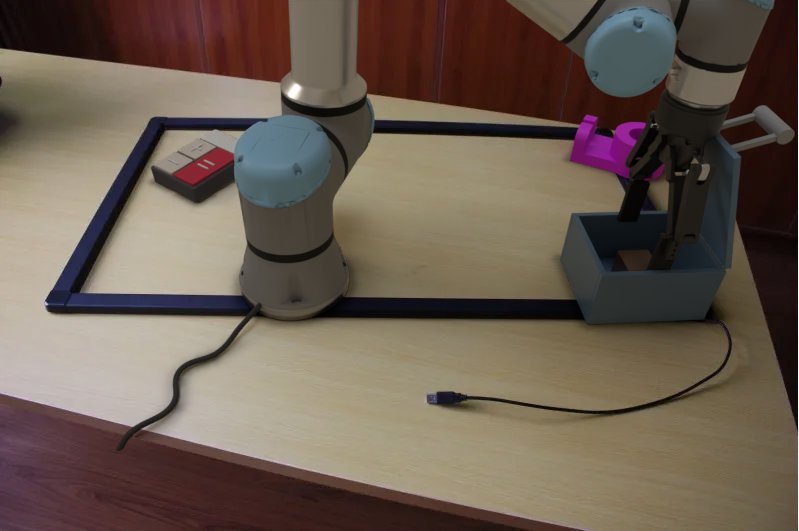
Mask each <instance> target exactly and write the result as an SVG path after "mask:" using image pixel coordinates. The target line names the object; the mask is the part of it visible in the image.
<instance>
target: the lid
mask: <svg viewBox="0 0 799 531" xmlns="http://www.w3.org/2000/svg"><path fill="white" fill-rule="evenodd" d="M753 121H754V122H756V123H757V125H759V127H761V128H762V129H763V130H764V132H766V133H767V135H763V136H759V137H756V138H752V139H749V140H748V139H747V140H745V141H742V142H738V143H734V144H730V143H729V142H728V141H727V140H726V139H725V138H724V137H723V135H722V134H721V133H720V132H719V133H718V135H716V136H715V137H713V138H711V139H710V140H708V141H707V142H706V143H705V147H704V155H703V159H704V160H705V161H706V163H715V164H716V172H715V174H714V176H713V179H712V181H711V183H710V187H709V192H708V196H707V201H706V206H705V211H704V216H703V220H702V225H701V230H700V235H701V236H702V238H703V239H704V240H705V242H706V243H707V245H708V246H709V247H710V249H711V250H712V252H713V253H714V255H715V256H716V257H717V259H718V260H719V262H720V263H721V264H722V266H723V267H724V269H725V270H729V269H732V265H733V264H732V263H733V253H734V240H735V232H736V231H735V230H736V219H737V210H738V197H739V187H740V186H739V185H740V176H741V175H740V174H741V164H742V156H741V155H740V154H739V152H741V151H745V150H749V149H752V148H756V147H761V146H764V145H768V144H771V143H774V142H776V143H777V144H779V145H786V144H788V143H790V142H791V141H792V140H793V139H794V137H795V130H794V129H792V128H791V126H790V125H788V124H787V123H786V122H784V120H783V119H781V117H779V116H778V115H777V114H776V113H775V112H774V111H773V110H772V109H771V108H769V106H767V105H765V104H764V105H763V104H762V105H759V106H757V107H756V108H754V110H753V111H752V113H748V114H745V115H740V116H737V117H734V118H731V119H727V120H725V121H724V123H723V126H722V128H721V130H725V129H728V128H732V127H736V126H740V125H743V124H747V123H750V122H753ZM681 175H687V174H686V172H681Z"/></svg>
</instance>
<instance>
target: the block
mask: <svg viewBox="0 0 799 531" xmlns="http://www.w3.org/2000/svg"><path fill="white" fill-rule="evenodd" d="M651 257H652V255H651V254H650V252H649V250H648V249H645V250H618V251H617V254H616V257H615V260H614V263H613V266H612V270H611V272H622V271H646V270H647V267H648V265H649V262H650V260H651Z"/></svg>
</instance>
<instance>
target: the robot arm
mask: <svg viewBox="0 0 799 531" xmlns="http://www.w3.org/2000/svg"><path fill="white" fill-rule="evenodd" d="M359 1H360V0H288V23H289V25H288V26H289V47H290V69H291V70H289V72H288V73H287V74H286V75H284V77H282V79H281V80H280V84H279V85H280V86H279V87H280V105H281V106H280V109H281V115H276V116H272V117H268V118H267V121H262V120H260V121H257V122H255V123H254V124H252V125H251V126H249V127H248V128H247V129H246V130H245V131H243V133H241V135H240V137H239V138H238V139H239V140H238V141H237V143H236V146H235V151H234V163H235V165H234V176H235V179H234V182H235V185H236V187H237V188H236V189H237V192H238V199H239V203H240V211H241V216H242V222H243V227H244V233H245V240H246V247H245V251H244V254H243V260H242V264H241V267H240V271H239V276H238V280H239V286H240V292H241V297H242V299H243V300H244V301H245V303H246V305H247V306H248V307H250V309H251V310H250V311H249V313H247V314H246V315H245V317H244V318H243V319H242V320H241V321H240V322H239V324H238V325H237V326H236V327H235V328H234V330H233V331H232V332H231V333H230V335H229V337H228V338H227V339H226V340H225V342H224V343H223V344H222V345H220V347H218V348H217V349H215V350H214V351H213V352H210V353H208V354H205V355H201V356H198V357H194V358H192V359H189V360H188V361H187V360H186V362H184V363H182V364H181V365H179V367H178V368H177V369H176V370H175V372H174V374H173V377H172V399H171V401H170V402H169V403H168V405H167V406H166V407H165V408H164V409H162V410H161V411H160V412H158V413H157V414H155V415H153V416H151V417H149V418H147V419H144V420H142V421H141V422H138V423H137V424H135V425H133V426H132V427H131V428H130V429H128V430H127V431H126V433H124V435H123V436H122V437H121V439H120V440H119V442H118V444H117V446H116V448H115V449H116V452H120V451H121V452H122V451H123V450H124V448H125V446H126V445H127V443H128V441H130V439H131V438H132V437H133V436H134V435H135V434H136V433H137V432H139V431H141V430H143V429H145V428H147V427H148V426H151V425H152V424H155V423H157V422H159V421H161V420H162V419H164V418H165V417H167V416H168V415H169V414H171V413H172V412H173V410H174V409H175V408H176V406H177V405H178V402H179V400H180V378H181V375H182V374H183V373H184V372H185V371H186V370H187V369H189V368H190V367H192V366H194V365H195V366H196V365H197V364H201V363H205V362H208V361H211V360H213V359H215V358H217V357H219V356H220V355H222V354H223V353H224V352H225V351H227V349H228V348H229V347H230V346H231V344H233V342H234V341H235V339H236V338H237V337H238V335H239V334H240V333H241V331H242V330H243V329H244V328H245V327H246V325H247V324H248V323H249V322H250V321H251V320H252V319H253V318H254V317H255V316H256V314H257V313H258V314H260V315H262V316H264V317H267V318H270V319H275V320H281V321H301V320H306V319H311V318H313V317H317V316H319V315H322V314H325V313H327V312H328V311H330V310H332V309H333V308H334V307H336V305H338V304H339V303H340V302H341V301H342V299H343V298H344V297H345V296H346V294H347V292H348V289H349V285H350V270H349V265H348V262H347V259H346V258H345V255H343V252H342V246H340V245H339V243H338V241H337V239H336V237H335V230H334V226H335V224H334V200H335V197H336V195H337V194H338V192H339V191H340V188H342V186H343V184H344V182H345V180H346V179H347V177H348V176H349V174H350V173H351V171H352V170H353V168H354V167H355V165H356V164H357V162H358V160H359V159H360V158H361V157H362V155H363V154H364V153H365V152H366V150H367V149H368V147H369V144H370V143H371V141H372V140H371V139H372V136H373V133H374V130H375V111H374V108H373V104H372V101H371V100H370V98H369V97H368V85H367V82H366V80H365V79H364V78H363V77H362V76H361V75H360V74H359V73H357V68H358V66H357V65H358V38H359V35H358V34H359ZM505 2H507V3H508V4H509V5H511V6H512V7H514V8H515V9H516V10H518V12H520V13H521V14H523V15H524V16H525V17H527V19H530V20H531V21H532V22H533V23H535V24H536V25H538V26H539V27H540V28H542V29H543V30H545V31H546V32H547V33H548V34H550V35H551V36H552V37H554V38H555V39H556V40H558V42H561V43H562V44H563V45H565V47H567V48H568V49H569V50H571V51H572V52H573V53H575V54H576V55H577V56H578V57H580V58H581V59H582V60H583V64H584V68H585V70H586V72H587V76H588V77H589V79H590V81H591V83H593V85H594V86H595V87H596V88H597V89H598V90H600V91H601V92H603V93H604V94H607V95H609V96H612V97H617V98H618V97H619V98H633V97H637V96H641V95H643V94H646V93H648V92H649V91H651V90H653V89H654V88H655V87H657V86H658V85H659V84H661V83H662V82H663V80H664V79H665V78H666V80H665V85H664V86H665V88H664V89H663V90H662V91H661V93H660V97H659V99H658V103H657V106H656V108H655V110H650V111H649V112H648V116H647V119H646V122H645V123H646V125H645V127H644V129H643V131H642V132H641V134H640V136H639V138H638V140H637V141H636V143H635V145H634V147H633V148H632V150H631V152H630V154H629V155H628V157H627V159H626V161H625V166H626V168H630V171H629V174H628V175H629V178H630V179H629V181H628V184H627V187H626V189H625V193H624V196H623V199H622V203H621V205H620V207H619V208H620V209H619V210H618V212H619V214H618V217H617V220H618V222H637V220H638V217H639V215H640V212H641V211H642V209H643V206H644V203H645V200H646V197H647V195H648V192H649V189H650V187H651V182H650V180H646V181H644V179H653V173H654V172H655V171H656V170H657V169H658V168H659V167H660V166H662V165H663V164H664V168H665V176H664V177H665V181H666V182H667V183H668V194H667V210H668V211H667V228H666V231H662V232H661V233H660V237H659V239H658V242H657V244H656V247H655V249H654V252H653V254H652V257H651V260H650V262H649V265H648V267H647V270H646V271H650V270H670V269H671V266H672V264H673V262H674V259H676V258H677V256H678V253H679V251H680V249H681V247H682V244H691V243H697V242H698V240H699V235H700V230H701V225H702V220H703V216H704V211H705V206H706V201H707V196H708V192H709V187H710V183H711V181H712V179H713V176H714V174H715V172H716V164H715V163H706V161H705V160H704V159H703V155H704V147H705V143H706V142H707V141H708V140H710V139H711V138H713V137H715V136H716V135H718V133H719V134H720V132H721V128H722V126H723V123H724V121H726V118H727V116H728V113H729V112H730V110H731V103H732V102H733V101H734V100H735V98H736V96H737V93H738V90H739V88H740V85H741V83H742V81H743V78H744V75H745V73H746V71H747V68H748V64H749V61H750V58H751V56H752V53H753V52H754V49H755V47H756V44H757V42H758V40H759V38H760V36H761V33H762V32H763V29H764V26H765V24H766V22H767V20H768V17H769V15H770V12H771V10H773V9H774V6H775V0H505ZM677 41H678V44H677ZM666 76H667V77H666ZM636 158H640V159H636ZM682 172H686V174H687V175H682V174H678V175H676V173H682ZM653 180H654V179H653ZM675 228H676V229H675Z"/></svg>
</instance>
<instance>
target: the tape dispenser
mask: <svg viewBox="0 0 799 531" xmlns="http://www.w3.org/2000/svg"><path fill="white" fill-rule="evenodd" d="M582 120H583V121H581V122H580V124H579V126H578V127H577V131H576V133H575V137H574V140H573V145H572V149H571V153H570V158H569V161H570V162H574V163H578V164H582V165H585V166H589V167H593V168H596V169H600V170H604V171H608V172H610V173H611V172H612V173H615V174H616V175H618V176H620V177H623V178H626V179H629V180H630V178H629V175H628V174H629V171H630V168H626V166H625V161H626V159H627V157H628V155H629V154H630V152H631V150H632V148H633V147H634V145H635V143H636V141H637V140H638V138H639V136H640V134H641V132H642V131H643V129H644V127H645V125H646V122H641V121H630V122H629V121H628V122H624V123H621V124H619V125H618V126H617V127H616V128H615V131H614V135H613V137H609V136H605V135H601V134H598V133H596V129H597V126H598V121H599V117H598V116H595V115H590V114H586V115H585V116H584V117H583V119H582ZM636 159H640V158H636ZM664 168H665V165H664V164H663V165H662V166H660V167H659V168H658V169H657V170H656V171H655V172H654V173H653V179H644V181H652V180H656V179H657V178H659V177H660V176H661V175H662V174H663V171H664Z"/></svg>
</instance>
